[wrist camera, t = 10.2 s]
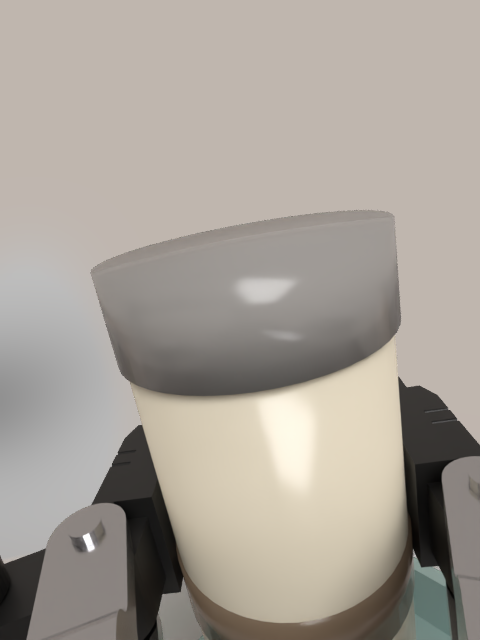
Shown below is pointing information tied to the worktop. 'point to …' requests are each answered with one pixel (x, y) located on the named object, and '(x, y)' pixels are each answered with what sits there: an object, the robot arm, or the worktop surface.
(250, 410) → the cylinder
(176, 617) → the worktop surface
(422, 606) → the parts tray
